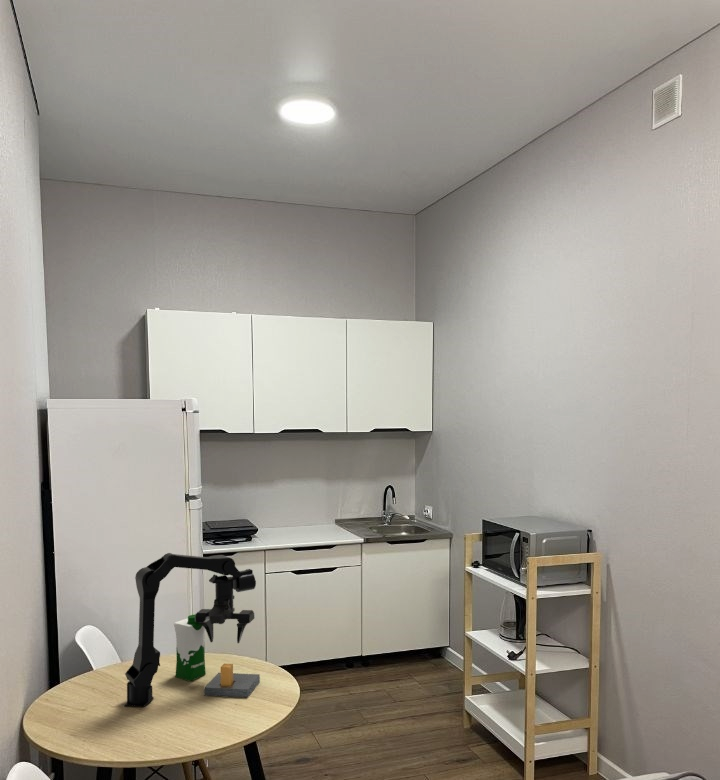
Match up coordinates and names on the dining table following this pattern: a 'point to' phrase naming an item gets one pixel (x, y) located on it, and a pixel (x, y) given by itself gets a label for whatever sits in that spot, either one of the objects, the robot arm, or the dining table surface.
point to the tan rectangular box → (227, 675)
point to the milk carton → (189, 649)
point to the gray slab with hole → (233, 686)
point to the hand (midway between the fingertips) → (225, 642)
